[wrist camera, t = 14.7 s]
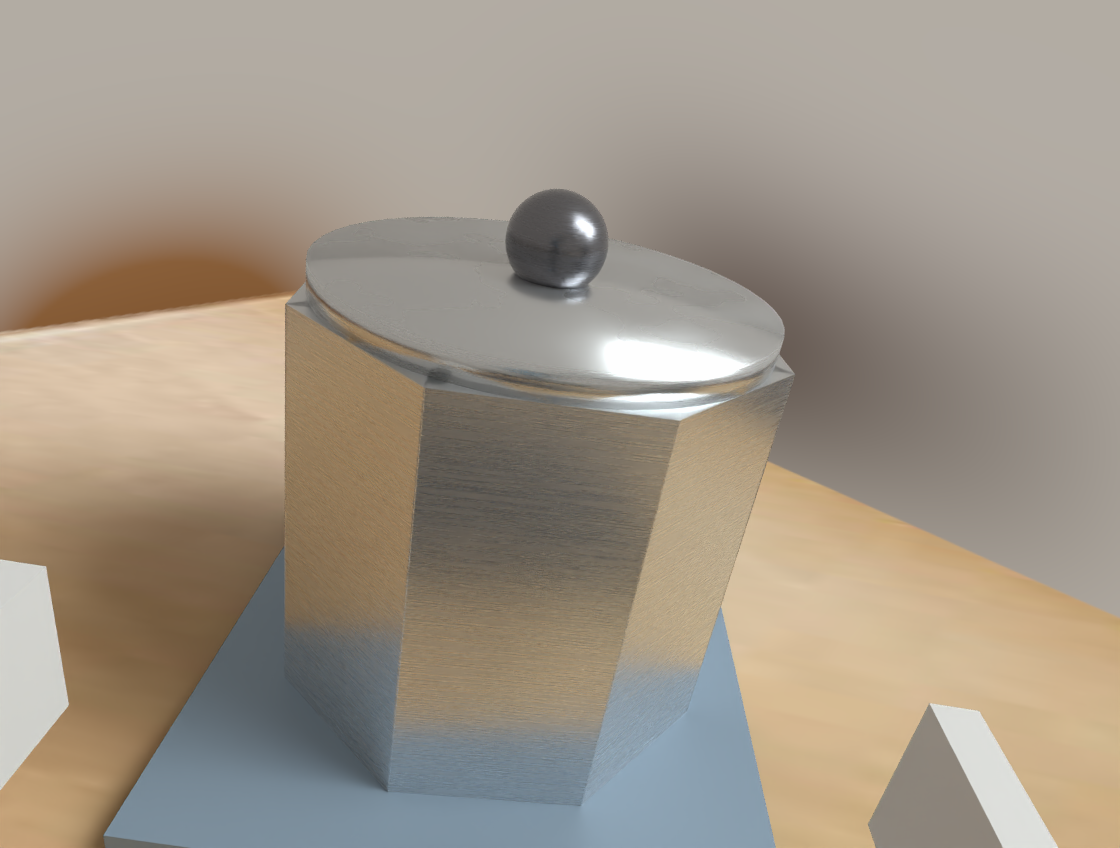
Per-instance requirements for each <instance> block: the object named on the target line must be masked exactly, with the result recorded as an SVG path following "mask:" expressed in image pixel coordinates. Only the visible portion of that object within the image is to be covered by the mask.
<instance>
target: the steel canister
mask: <svg viewBox="0 0 1120 848" xmlns="http://www.w3.org/2000/svg"><path fill="white" fill-rule="evenodd" d="M784 331H785V328H784V326H783V323H782V320H781V318H780V317H779V316H778V314H777V313H776V311H775V310H774V309H773V308H772V307H771V306H770V305H768V304H767V303H766V302H765V301H764V300H763V299H761V298H760V297H758V296H757V295H756V294H754V293H753V292H751V291H750V290H748V289H746V288H744V287H743V286H741V285H739V284H738V283H736V282H734V281H732V280H729V279H728V278H726V277H724V276H722V275H720V274H717V273H715V272H712V271H710V270H708V269H706V268H703V267H701V266H698V265H696V264H693V263H690V262H688V261H685V260H682V259H679V258H676V257H673V256H670V255H667V254H664V253H661V252H658V251H654V250H651V249H648V248H644V247H641V246H637V245H633V244H629V243H625V242H622V241H617V240H613V239H609V238H608V232H607V228H606V224H605V222H604V219H603V217H602V215H601V214H600V212H599V211H598V210H597V208H596V207H595V206H594V205H593V204H592V203H591V202H590V201H589V200H588V199H586V198H585V197H583V196H582V195H580V194H577V193H575V192H572V191H569V190H564V189H550V190H545V191H542V192H538V193H536V194H534V195H532V196H531V197H529V198H527V199H526V200H525V201H524V202H523V203H522V204H520V206H519V207H518V208H517V209H516V211H515V212H514V213H513V215H512V217H511V219H510V221H500V220H488V219H476V218H453V217H415V218H414V217H413V218H398V219H397V218H396V219H385V220H377V221H370V222H364V223H359V224H354V225H350V226H347V227H343V228H340V229H337V230H334V231H332V232H330V233H328V234H325V235H323V236H322V237H321V238H319V239H318V240H316V241H315V242H314V243H313V244H312V245H311V247H310V248H309V250H308V252H307V258H306V282H305V283H304V284H303V285H302V286H301V287H300V289H299V290H298V291H297V292H296V293H295V294H294V295H293V296H292V297H291V299H290V300H289V301H288V302H287V303H286V304H285V600H284V677H285V678H286V679H287V680H288V681H289V682H290V683H291V684H292V685H293V686H294V688H295V689H296V690H297V691H298V692H299V693H300V694H301V695H302V697H303V698H304V699H305V700H306V701H307V702H308V703H309V704H310V705H311V707H312V708H313V709H314V710H315V711H316V712H317V713H318V714H319V716H320V717H321V718H322V719H323V720H324V721H325V722H326V723H327V724H328V726H329V727H330V728H331V729H332V730H333V731H334V732H335V733H336V735H337V736H338V737H339V738H340V739H341V740H342V741H343V742H344V743H345V745H346V746H347V747H348V748H349V749H350V750H351V751H352V752H353V754H354V755H355V756H356V757H357V758H358V759H359V760H360V761H361V762H362V764H363V765H364V766H365V767H366V768H367V769H368V770H369V771H370V773H371V774H372V775H373V776H374V777H375V778H376V779H377V780H378V781H379V783H380V784H381V785H382V786H383V787H384V788H385V789H386V790H387V792H396V793H410V794H423V795H437V796H451V797H464V798H478V799H492V800H505V801H519V802H533V803H546V804H560V805H574V806H582V805H583V804H584V803H585V802H586V801H587V800H588V799H589V798H591V797H592V796H593V795H594V794H595V793H596V792H597V791H598V790H599V789H601V788H602V787H603V786H604V785H605V784H606V783H607V782H608V781H610V780H611V779H612V778H613V777H614V776H615V775H616V774H617V773H619V772H620V771H621V770H622V769H623V768H624V767H625V766H626V765H628V764H629V763H630V762H631V761H632V760H633V759H634V758H635V757H637V756H638V755H639V754H640V753H641V752H642V751H643V750H644V749H646V748H647V747H648V746H649V745H650V744H651V743H652V742H653V741H654V740H656V739H657V738H658V737H659V736H660V735H661V734H662V733H663V732H665V731H666V730H667V729H668V728H669V727H670V726H671V725H672V724H674V723H675V722H676V721H677V720H678V719H679V718H680V717H681V716H683V715H684V714H685V713H686V712H687V710H688V707H689V704H690V701H691V698H692V694H693V691H694V688H695V685H696V682H697V679H698V676H699V673H700V669H701V666H702V663H703V660H704V657H705V654H706V651H707V648H708V644H709V641H710V638H711V635H712V632H713V629H714V626H715V623H716V620H717V616H718V613H719V610H720V607H721V604H722V601H723V598H724V595H725V591H726V588H727V585H728V582H729V579H730V576H731V573H732V570H733V566H734V563H735V560H736V557H737V554H738V551H739V548H740V545H741V542H742V538H743V535H744V532H745V529H746V526H747V523H748V520H749V517H750V513H751V510H752V507H753V504H754V501H755V498H756V495H757V492H758V488H759V485H760V482H761V479H762V476H763V473H764V470H765V467H766V463H767V460H768V457H769V454H770V451H771V448H772V445H773V442H774V439H775V435H776V432H777V429H778V426H779V423H780V420H781V417H782V414H783V410H784V407H785V404H786V401H787V398H788V395H789V392H790V389H791V385H792V382H793V379H794V376H795V374H794V372H793V371H792V370H791V369H790V367H789V366H788V365H787V364H786V362H785V361H784V360H783V359H782V358H781V356H780V355H779V352H780V349H781V346H782V343H783V339H784Z"/></svg>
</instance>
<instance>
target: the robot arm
mask: <svg viewBox="0 0 1120 848" xmlns="http://www.w3.org/2000/svg"><path fill="white" fill-rule="evenodd" d="M68 706H69V703H68V697H67V691H66V685H65V679H64V673H63V666H62V660H61V654H60V648H59V642H58V636H57V630H56V624H55V618H54V612H53V606H52V600H51V594H50V588H49V582H48V576H47V569H46V566H39V565H33V564H27V563H20V562H14V561H7V560H1V559H0V790H1V789H2V787H3V786H4V785H5V784H6V782H7V781H8V780H9V779H10V778H11V776H12V775H13V774H14V773H15V771H16V770H17V769H18V768H19V766H20V765H21V764H22V763H23V761H24V760H25V759H26V758H27V756H28V755H29V754H30V753H31V752H32V750H33V749H34V748H35V747H36V745H37V744H38V743H39V742H40V740H41V739H42V738H43V737H44V735H45V734H46V733H47V732H48V730H49V729H50V728H51V727H52V725H53V724H54V723H55V722H56V721H57V719H58V718H59V717H60V716H61V714H62V713H63V712H64V711H65V709H66V708H67V707H68ZM868 826H869V829H870V832H871V835H872V838H873V841H874V843H875V846H876V848H1058V847H1057V845H1056V843H1055V841H1054V840H1053V838H1052V836H1051V834H1050V833H1049V831H1048V829H1047V828H1046V826H1045V824H1044V822H1043V821H1042V819H1041V817H1040V815H1039V814H1038V812H1037V810H1036V809H1035V807H1034V805H1033V803H1032V802H1031V800H1030V798H1029V796H1028V795H1027V793H1026V791H1025V790H1024V788H1023V786H1022V784H1021V783H1020V781H1019V779H1018V777H1017V776H1016V774H1015V772H1014V771H1013V769H1012V767H1011V765H1010V764H1009V762H1008V760H1007V758H1006V757H1005V755H1004V753H1003V752H1002V750H1001V748H1000V746H999V745H998V743H997V741H996V739H995V738H994V736H993V734H992V733H991V731H990V729H989V727H988V726H987V724H986V722H985V720H984V719H983V717H982V715H981V714H980V712H979V711H976V710H969V709H963V708H957V707H950V706H944V705H937V704H931V703H929V705H928V707H927V709H926V711H925V713H924V715H923V717H922V719H921V721H920V723H919V725H918V727H917V729H916V731H915V733H914V735H913V737H912V739H911V741H910V743H909V744H908V746H907V748H906V750H905V752H904V754H903V756H902V758H901V760H900V762H899V764H898V766H897V768H896V770H895V772H894V774H893V776H892V778H891V780H890V782H889V784H888V786H887V788H886V790H885V792H884V794H883V796H882V798H881V800H880V802H879V804H878V806H877V808H876V810H875V811H874V813H873V815H872V817H871V819H870V821H869V823H868Z"/></svg>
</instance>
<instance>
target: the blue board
mask: <svg viewBox="0 0 1120 848" xmlns="http://www.w3.org/2000/svg"><path fill="white" fill-rule="evenodd" d="M284 600H285V546H284V547H283V549H282V550H281V552H280V554H279V555H278V557H277V558H276V560H275V562H274V563H273V565H272V566H271V568H270V570H269V571H268V573H267V574H266V576H265V578H264V579H263V581H262V582H261V584H260V586H259V587H258V589H257V590H256V592H255V594H254V595H253V597H252V598H251V600H250V602H249V603H248V605H247V606H246V608H245V610H244V611H243V613H242V614H241V616H240V618H239V619H238V621H237V622H236V624H235V626H234V627H233V629H232V630H231V632H230V634H229V635H228V637H227V638H226V640H225V642H224V643H223V645H222V646H221V648H220V650H219V651H218V653H217V654H216V656H215V658H214V659H213V661H212V662H211V664H210V666H209V667H208V669H207V670H206V672H205V674H204V675H203V677H202V678H201V680H200V682H199V683H198V685H197V686H196V688H195V690H194V691H193V693H192V694H191V696H190V698H189V699H188V701H187V702H186V704H185V706H184V707H183V709H182V710H181V712H180V714H179V715H178V717H177V718H176V720H175V722H174V723H173V725H172V726H171V728H170V730H169V731H168V733H167V734H166V736H165V738H164V739H163V741H162V742H161V744H160V746H159V747H158V749H157V750H156V752H155V754H154V755H153V757H152V758H151V760H150V762H149V763H148V765H147V766H146V768H145V770H144V771H143V773H142V774H141V776H140V778H139V779H138V781H137V782H136V784H135V786H134V787H133V789H132V790H131V792H130V794H129V795H128V797H127V798H126V800H125V802H124V803H123V805H122V806H121V808H120V810H119V811H118V813H117V814H116V816H115V818H114V819H113V821H112V822H111V824H110V826H109V827H108V829H107V830H106V832H105V834H104V835H103V837H104V844H105V848H776V847H775V843H774V838H773V834H772V829H771V825H770V821H769V816H768V812H767V807H766V803H765V799H764V794H763V790H762V785H761V781H760V777H759V772H758V768H757V763H756V759H755V755H754V750H753V746H752V741H751V737H750V733H749V728H748V724H747V719H746V715H745V711H744V706H743V702H742V697H741V693H740V689H739V684H738V680H737V675H736V671H735V666H734V662H733V658H732V653H731V649H730V644H729V640H728V636H727V631H726V627H725V622H724V618H723V614H722V609H721V607H720V610H719V613H718V616H717V620H716V623H715V626H714V629H713V632H712V635H711V638H710V641H709V644H708V648H707V651H706V654H705V657H704V660H703V663H702V666H701V669H700V673H699V676H698V679H697V682H696V685H695V688H694V691H693V694H692V698H691V701H690V704H689V707H688V710H687V712H686V713H685V714H684V715H683V716H681V717H680V718H679V719H678V720H677V721H676V722H675V723H674V724H672V725H671V726H670V727H669V728H668V729H667V730H666V731H665V732H663V733H662V734H661V735H660V736H659V737H658V738H657V739H656V740H654V741H653V742H652V743H651V744H650V745H649V746H648V747H647V748H646V749H644V750H643V751H642V752H641V753H640V754H639V755H638V756H637V757H635V758H634V759H633V760H632V761H631V762H630V763H629V764H628V765H626V766H625V767H624V768H623V769H622V770H621V771H620V772H619V773H617V774H616V775H615V776H614V777H613V778H612V779H611V780H610V781H608V782H607V783H606V784H605V785H604V786H603V787H602V788H601V789H599V790H598V791H597V792H596V793H595V794H594V795H593V796H592V797H591V798H589V799H588V800H587V801H586V802H585V803H584V804H583V805H582V806H574V805H560V804H546V803H533V802H519V801H505V800H492V799H478V798H464V797H451V796H437V795H423V794H410V793H396V792H387V790H386V789H385V788H384V787H383V786H382V785H381V784H380V783H379V781H378V780H377V779H376V778H375V777H374V776H373V775H372V774H371V773H370V771H369V770H368V769H367V768H366V767H365V766H364V765H363V764H362V762H361V761H360V760H359V759H358V758H357V757H356V756H355V755H354V754H353V752H352V751H351V750H350V749H349V748H348V747H347V746H346V745H345V743H344V742H343V741H342V740H341V739H340V738H339V737H338V736H337V735H336V733H335V732H334V731H333V730H332V729H331V728H330V727H329V726H328V724H327V723H326V722H325V721H324V720H323V719H322V718H321V717H320V716H319V714H318V713H317V712H316V711H315V710H314V709H313V708H312V707H311V705H310V704H309V703H308V702H307V701H306V700H305V699H304V698H303V697H302V695H301V694H300V693H299V692H298V691H297V690H296V689H295V688H294V686H293V685H292V684H291V683H290V682H289V681H288V680H287V679H286V678H285V677H284Z"/></svg>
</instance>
